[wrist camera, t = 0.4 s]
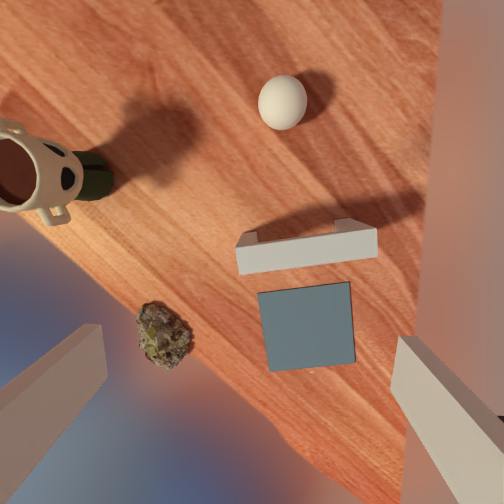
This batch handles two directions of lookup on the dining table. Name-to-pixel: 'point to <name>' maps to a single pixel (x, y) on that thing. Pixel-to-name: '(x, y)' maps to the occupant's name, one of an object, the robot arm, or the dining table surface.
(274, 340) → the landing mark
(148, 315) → the mineral rock
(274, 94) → the ball
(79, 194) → the character mug
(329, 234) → the bridge
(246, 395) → the dining table surface
